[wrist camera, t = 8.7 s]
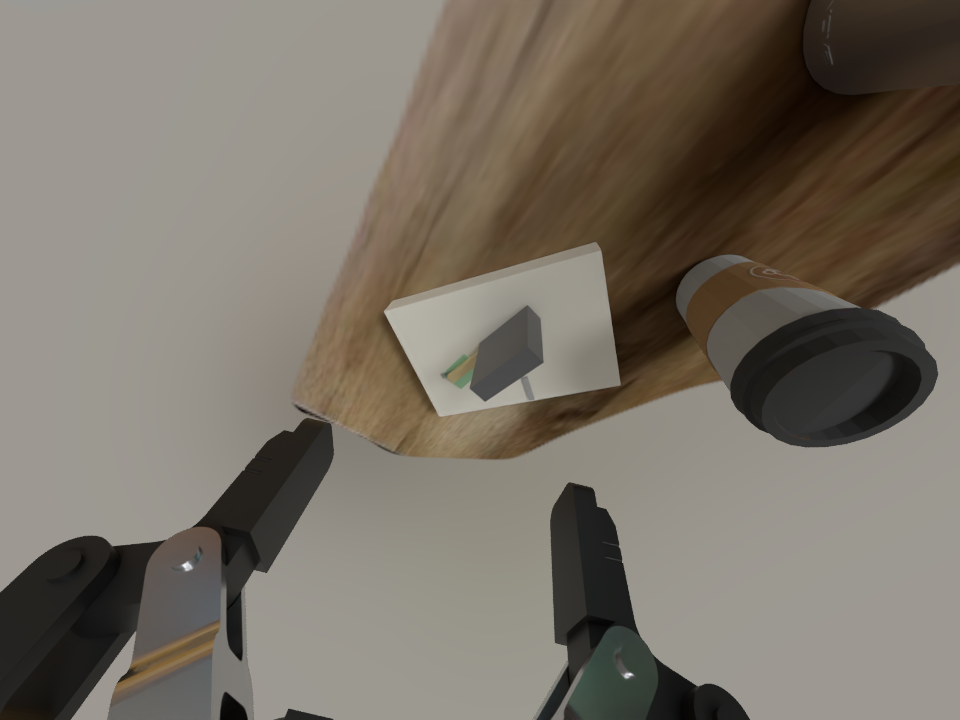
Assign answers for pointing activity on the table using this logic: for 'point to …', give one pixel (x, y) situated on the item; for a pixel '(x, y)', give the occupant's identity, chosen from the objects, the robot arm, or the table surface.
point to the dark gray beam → (504, 355)
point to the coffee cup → (803, 354)
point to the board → (492, 302)
